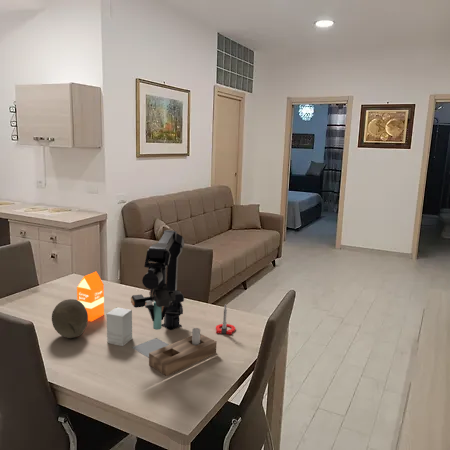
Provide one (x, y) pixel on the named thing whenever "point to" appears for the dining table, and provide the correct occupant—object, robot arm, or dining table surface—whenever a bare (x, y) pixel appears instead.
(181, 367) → the hole block
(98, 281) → the orange juice
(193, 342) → the grey peg
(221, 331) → the tow hook
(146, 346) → the mat
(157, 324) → the teal peg
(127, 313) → the supplement box
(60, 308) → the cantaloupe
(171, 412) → the dining table surface
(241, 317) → the dining table surface
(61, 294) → the dining table surface
